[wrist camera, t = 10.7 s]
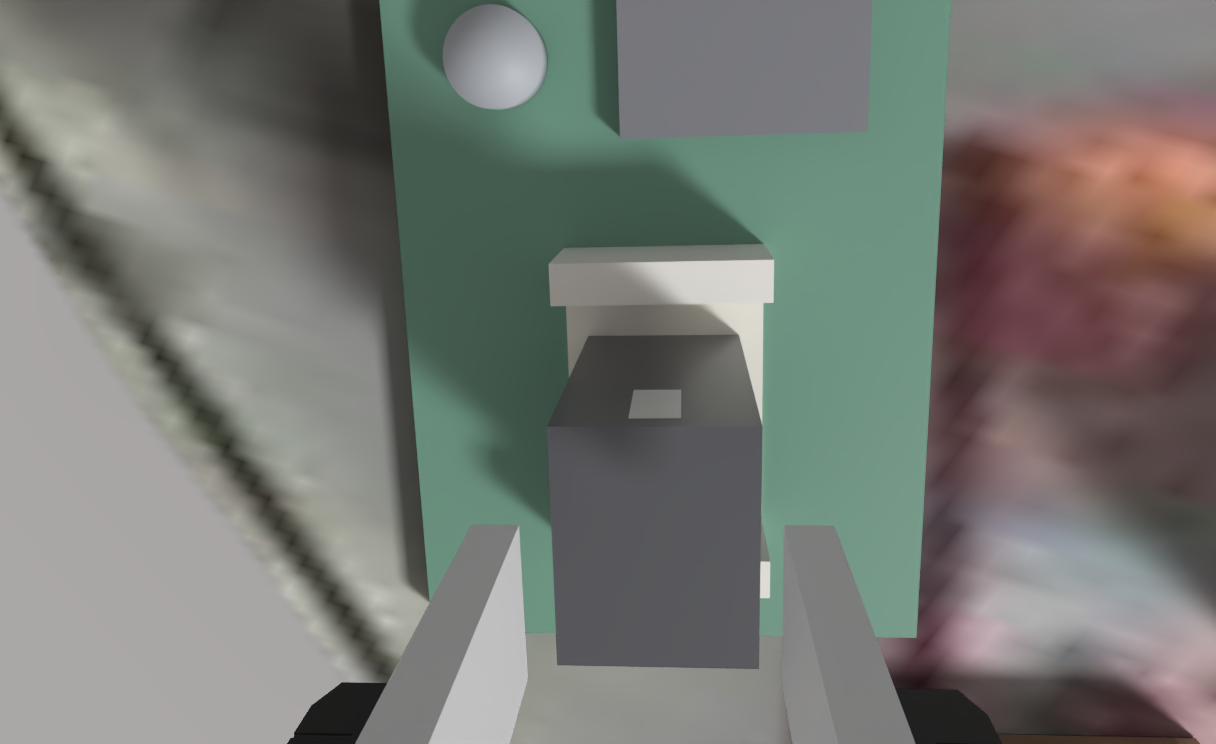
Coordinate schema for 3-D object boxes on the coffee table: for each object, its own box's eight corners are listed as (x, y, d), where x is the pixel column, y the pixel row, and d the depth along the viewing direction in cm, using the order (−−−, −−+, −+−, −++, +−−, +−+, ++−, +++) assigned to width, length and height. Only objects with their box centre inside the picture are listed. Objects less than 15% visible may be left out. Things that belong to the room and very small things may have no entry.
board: (385, -96, 25) (326, -139, 21) (945, -125, 24) (999, -177, 19) (441, 611, 30) (403, 689, 26) (906, 616, 28) (943, 698, 24)
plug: (588, 334, 26) (547, 425, 18) (738, 334, 25) (762, 425, 18) (593, 511, 27) (557, 666, 19) (737, 511, 27) (759, 669, 19)
